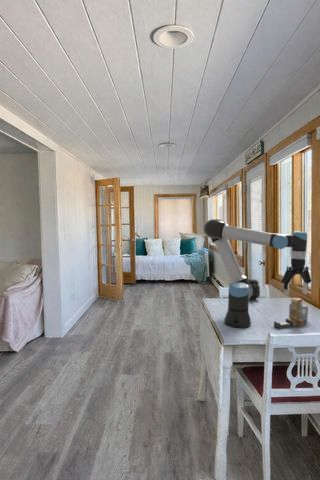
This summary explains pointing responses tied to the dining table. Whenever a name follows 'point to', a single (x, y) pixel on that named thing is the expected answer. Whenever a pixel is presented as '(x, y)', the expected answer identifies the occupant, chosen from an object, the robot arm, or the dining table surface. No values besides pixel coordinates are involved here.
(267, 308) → the dining table surface
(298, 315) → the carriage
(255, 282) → the camera
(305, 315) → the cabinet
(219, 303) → the dining table surface
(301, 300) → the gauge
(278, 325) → the rail
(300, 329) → the dining table surface
